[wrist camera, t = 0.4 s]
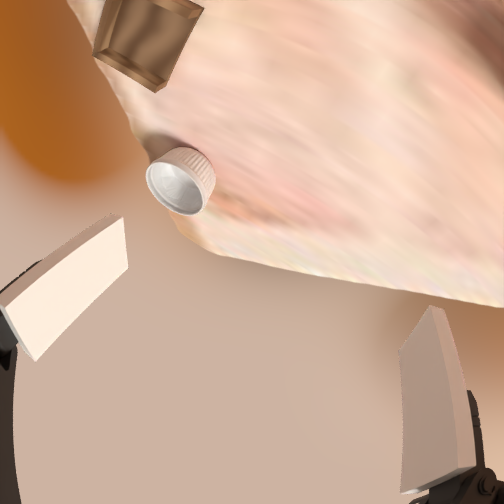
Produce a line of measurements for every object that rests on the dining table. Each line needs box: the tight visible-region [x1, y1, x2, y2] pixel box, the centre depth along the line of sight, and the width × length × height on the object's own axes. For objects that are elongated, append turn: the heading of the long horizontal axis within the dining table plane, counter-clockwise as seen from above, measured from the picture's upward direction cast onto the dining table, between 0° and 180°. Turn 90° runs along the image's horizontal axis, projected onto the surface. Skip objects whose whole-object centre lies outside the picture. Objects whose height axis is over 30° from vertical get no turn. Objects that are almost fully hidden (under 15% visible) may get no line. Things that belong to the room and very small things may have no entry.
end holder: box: [92, 0, 204, 93], centre depth 29 cm, size 16×16×3 cm
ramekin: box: [146, 147, 216, 216], centre depth 51 cm, size 13×13×7 cm
